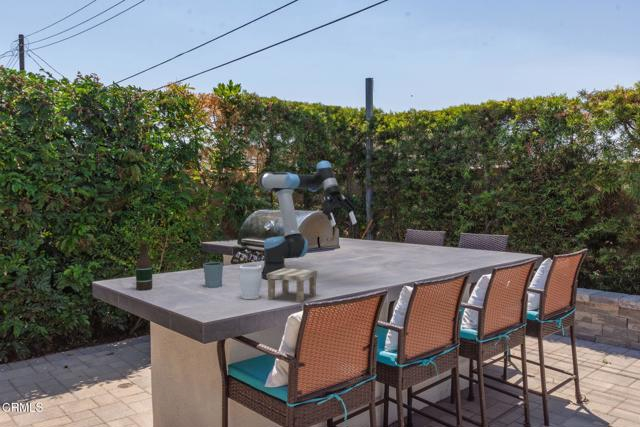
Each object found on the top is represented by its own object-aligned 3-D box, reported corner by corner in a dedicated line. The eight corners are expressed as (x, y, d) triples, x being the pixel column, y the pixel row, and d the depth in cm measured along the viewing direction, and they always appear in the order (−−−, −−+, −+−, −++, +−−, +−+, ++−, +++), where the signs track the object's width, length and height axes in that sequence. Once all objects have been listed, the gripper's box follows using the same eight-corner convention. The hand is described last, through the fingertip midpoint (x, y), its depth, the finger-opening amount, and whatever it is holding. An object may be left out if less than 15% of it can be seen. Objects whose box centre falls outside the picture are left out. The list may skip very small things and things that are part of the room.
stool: (266, 299, 225) (266, 273, 224) (283, 292, 242) (283, 268, 241) (302, 303, 218) (302, 276, 218) (317, 295, 235) (317, 270, 234)
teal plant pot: (226, 285, 259) (226, 262, 258) (215, 288, 250) (215, 265, 249) (211, 283, 263) (211, 261, 262) (199, 287, 254) (199, 264, 253)
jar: (240, 295, 234) (240, 264, 234) (262, 294, 235) (262, 264, 234) (238, 300, 224) (238, 267, 223) (261, 299, 225) (261, 267, 224)
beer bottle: (155, 288, 251) (155, 241, 250) (145, 291, 243) (144, 243, 242) (143, 287, 253) (142, 241, 252) (132, 290, 246) (132, 242, 245)
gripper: (315, 185, 246) (328, 223, 239) (353, 184, 261) (367, 219, 254) (308, 192, 252) (321, 229, 245) (346, 190, 266) (359, 225, 259)
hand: (344, 224), depth 249 cm, fingers open, 13 cm apart
